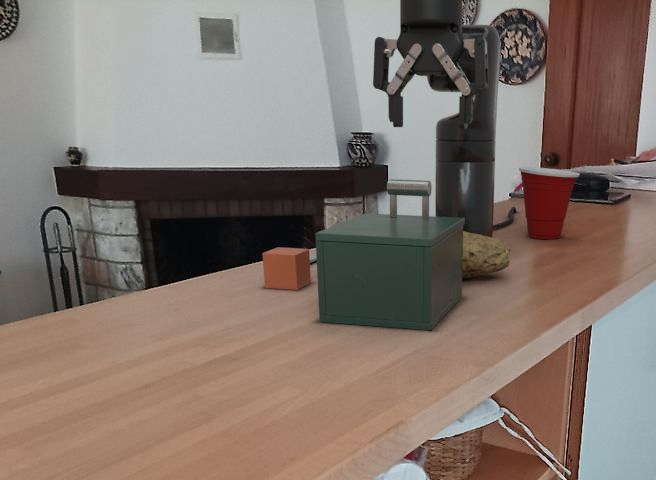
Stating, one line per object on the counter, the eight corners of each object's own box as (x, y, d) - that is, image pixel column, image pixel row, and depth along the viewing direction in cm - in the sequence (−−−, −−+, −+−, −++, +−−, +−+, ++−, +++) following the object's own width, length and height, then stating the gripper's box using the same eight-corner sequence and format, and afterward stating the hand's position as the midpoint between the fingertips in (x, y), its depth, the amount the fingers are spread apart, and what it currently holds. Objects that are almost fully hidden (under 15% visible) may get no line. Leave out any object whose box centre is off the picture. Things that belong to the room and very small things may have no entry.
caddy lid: (365, 219, 97) (364, 176, 95) (464, 224, 95) (465, 180, 93) (315, 240, 82) (312, 189, 80) (431, 247, 80) (431, 194, 78)
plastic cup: (579, 242, 137) (584, 171, 132) (517, 241, 137) (520, 170, 133) (571, 232, 147) (576, 166, 143) (514, 231, 147) (517, 165, 143)
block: (279, 280, 104) (277, 247, 103) (311, 282, 103) (309, 248, 102) (264, 288, 100) (262, 253, 99) (297, 290, 99) (295, 255, 98)
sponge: (350, 286, 108) (474, 272, 97) (346, 228, 107) (470, 208, 96) (406, 286, 119) (523, 274, 108) (402, 234, 118) (520, 217, 107)
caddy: (365, 290, 100) (363, 221, 96) (462, 297, 97) (463, 225, 94) (319, 322, 85) (315, 241, 82) (430, 330, 83) (431, 247, 80)
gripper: (495, -12, 95) (490, 129, 101) (384, -10, 98) (385, 126, 104) (484, -23, 88) (479, 129, 94) (364, -21, 91) (367, 126, 97)
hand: (430, 127), depth 99 cm, fingers open, 8 cm apart
